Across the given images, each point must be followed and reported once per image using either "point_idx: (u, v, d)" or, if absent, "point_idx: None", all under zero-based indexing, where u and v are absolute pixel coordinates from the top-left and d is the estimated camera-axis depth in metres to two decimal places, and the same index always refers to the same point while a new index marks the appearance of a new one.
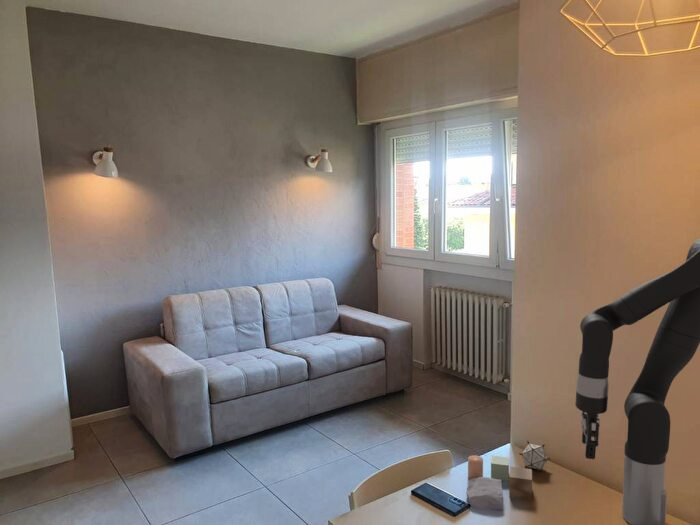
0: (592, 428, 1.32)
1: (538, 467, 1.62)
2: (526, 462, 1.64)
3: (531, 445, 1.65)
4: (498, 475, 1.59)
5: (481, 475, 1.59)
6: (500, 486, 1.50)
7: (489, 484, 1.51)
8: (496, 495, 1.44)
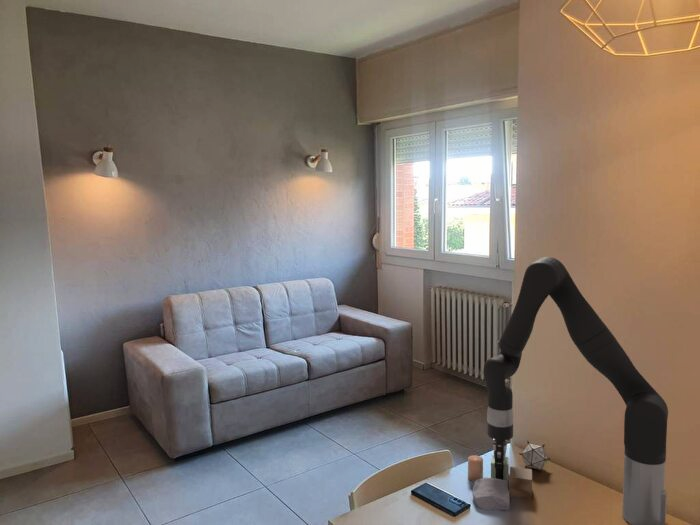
0: (497, 456, 1.54)
1: (538, 467, 1.62)
2: (526, 462, 1.64)
3: (531, 445, 1.65)
4: None
5: (481, 475, 1.59)
6: (506, 486, 1.50)
7: (495, 484, 1.51)
8: (503, 495, 1.44)
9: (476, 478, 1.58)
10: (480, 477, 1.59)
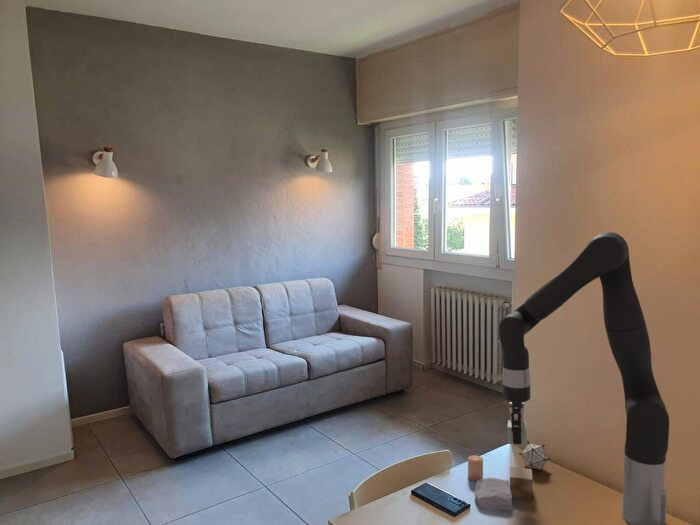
0: (514, 418, 1.46)
1: (538, 467, 1.62)
2: (526, 462, 1.64)
3: (531, 445, 1.65)
4: None
5: (481, 475, 1.59)
6: (508, 486, 1.50)
7: (497, 484, 1.51)
8: (505, 496, 1.44)
9: (476, 478, 1.58)
10: (480, 477, 1.59)
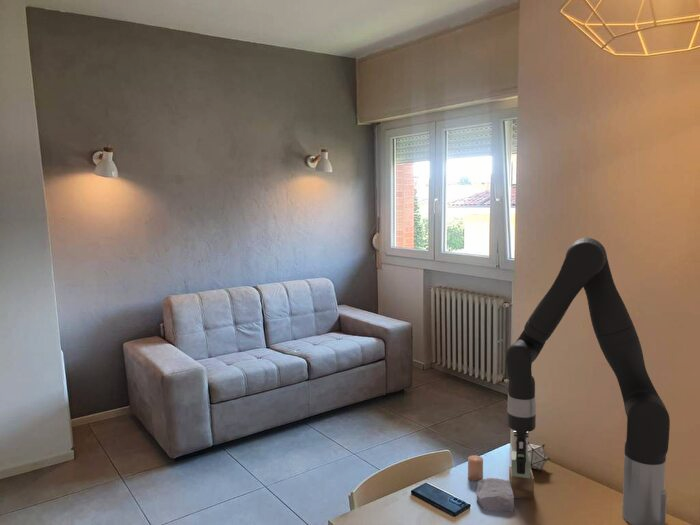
0: (519, 446, 1.44)
1: (538, 467, 1.62)
2: None
3: (531, 445, 1.65)
4: None
5: (481, 475, 1.59)
6: (510, 487, 1.50)
7: (498, 484, 1.51)
8: (507, 496, 1.44)
9: (476, 478, 1.58)
10: (480, 477, 1.59)
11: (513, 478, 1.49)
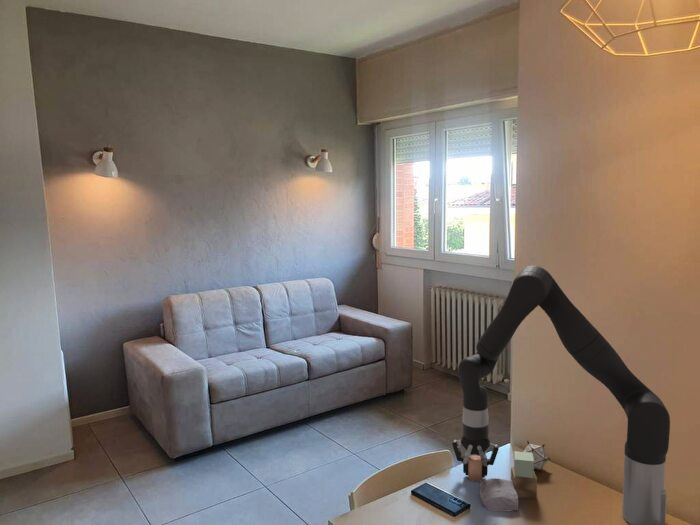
0: None
1: (538, 467, 1.62)
2: None
3: (531, 445, 1.65)
4: (523, 472, 1.49)
5: (481, 475, 1.59)
6: (512, 487, 1.50)
7: (501, 485, 1.50)
8: (512, 496, 1.44)
9: (476, 478, 1.58)
10: (480, 477, 1.59)
11: (516, 478, 1.49)
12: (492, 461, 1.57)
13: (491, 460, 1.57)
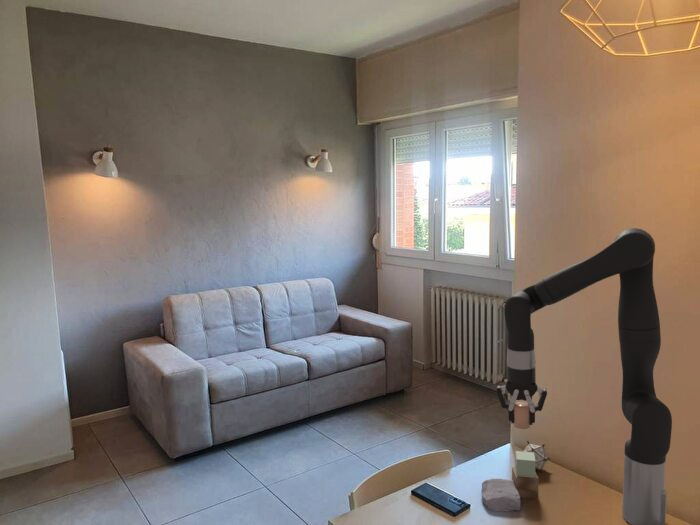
0: None
1: (538, 467, 1.62)
2: None
3: (531, 445, 1.65)
4: (525, 471, 1.49)
5: (528, 422, 1.48)
6: (514, 487, 1.50)
7: (503, 485, 1.50)
8: (514, 496, 1.44)
9: (523, 425, 1.48)
10: (527, 424, 1.48)
11: (518, 478, 1.49)
12: (540, 406, 1.46)
13: (539, 405, 1.46)
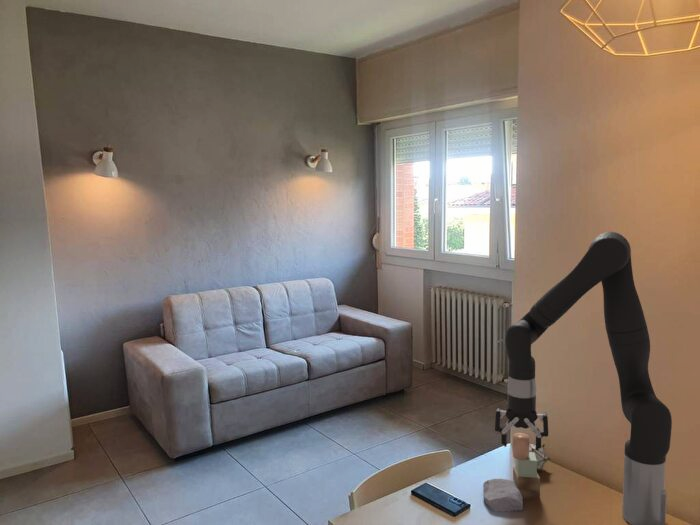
0: None
1: (538, 467, 1.62)
2: None
3: (531, 445, 1.65)
4: (526, 471, 1.49)
5: (528, 453, 1.49)
6: (515, 486, 1.50)
7: (504, 485, 1.50)
8: (516, 496, 1.44)
9: (522, 456, 1.48)
10: (527, 455, 1.49)
11: (519, 479, 1.49)
12: (547, 432, 1.46)
13: (545, 431, 1.47)
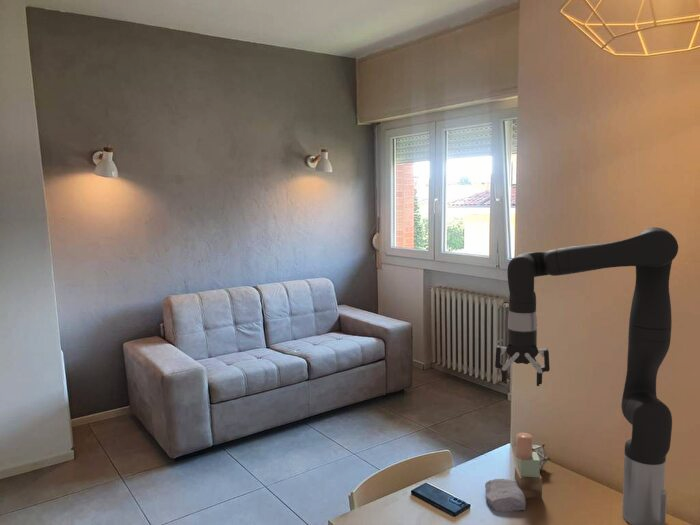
0: None
1: None
2: None
3: None
4: (529, 471, 1.49)
5: (531, 453, 1.49)
6: (517, 486, 1.50)
7: (506, 485, 1.50)
8: (519, 496, 1.44)
9: (526, 456, 1.48)
10: (530, 455, 1.49)
11: (521, 479, 1.49)
12: (548, 367, 1.44)
13: (546, 366, 1.44)
